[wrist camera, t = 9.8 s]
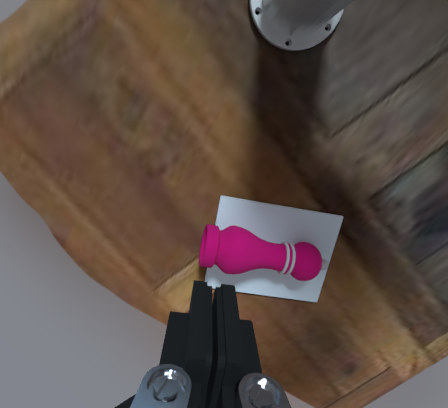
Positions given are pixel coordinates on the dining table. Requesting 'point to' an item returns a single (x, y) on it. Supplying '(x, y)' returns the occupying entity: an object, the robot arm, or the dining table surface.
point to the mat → (276, 233)
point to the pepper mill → (258, 254)
